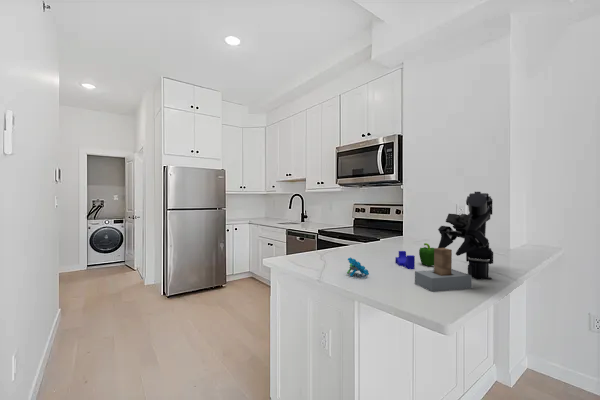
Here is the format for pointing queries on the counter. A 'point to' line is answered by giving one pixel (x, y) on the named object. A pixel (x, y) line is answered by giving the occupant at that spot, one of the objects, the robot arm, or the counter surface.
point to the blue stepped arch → (405, 260)
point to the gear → (356, 267)
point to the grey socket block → (443, 280)
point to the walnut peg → (442, 261)
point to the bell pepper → (427, 255)
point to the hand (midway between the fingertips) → (447, 252)
